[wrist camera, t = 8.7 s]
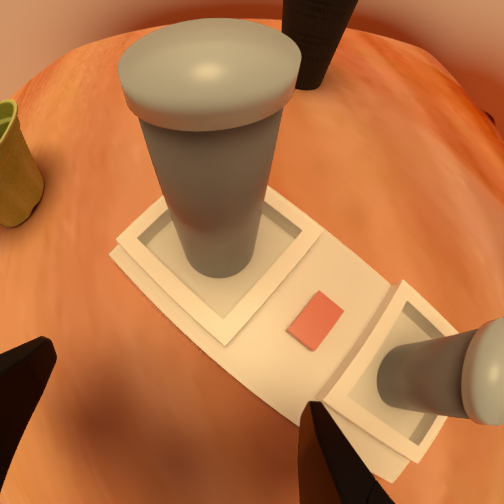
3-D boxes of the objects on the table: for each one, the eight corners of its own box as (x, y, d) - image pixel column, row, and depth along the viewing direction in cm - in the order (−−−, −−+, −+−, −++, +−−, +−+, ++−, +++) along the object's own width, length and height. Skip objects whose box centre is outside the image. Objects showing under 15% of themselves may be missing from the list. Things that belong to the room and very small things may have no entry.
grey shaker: (201, 295, 17) (141, 128, 5) (169, 230, 18) (106, 45, 6) (271, 259, 18) (339, 74, 6) (235, 200, 19) (245, 11, 7)
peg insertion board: (382, 477, 14) (476, 526, 4) (116, 262, 19) (36, 175, 9) (456, 359, 18) (558, 339, 8) (222, 164, 22) (222, 49, 12)
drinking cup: (296, 105, 26) (342, -80, 7) (252, 69, 28) (271, -89, 9) (345, 90, 28) (399, -57, 9) (302, 58, 30) (334, -76, 11)
